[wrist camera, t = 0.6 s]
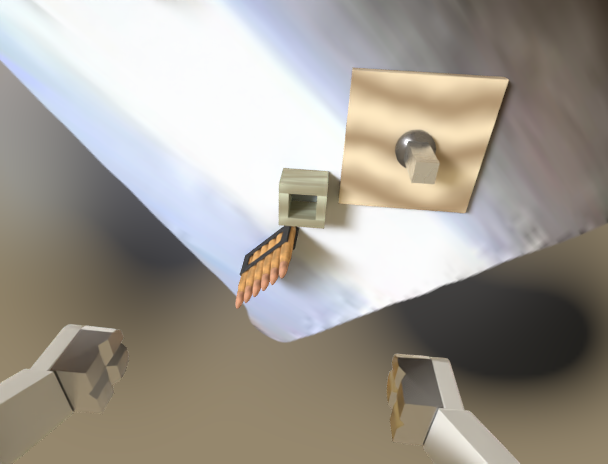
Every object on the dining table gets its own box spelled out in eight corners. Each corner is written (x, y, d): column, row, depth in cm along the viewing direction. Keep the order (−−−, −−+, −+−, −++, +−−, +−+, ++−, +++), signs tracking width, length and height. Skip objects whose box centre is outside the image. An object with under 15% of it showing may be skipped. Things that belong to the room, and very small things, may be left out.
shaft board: (352, 67, 46) (355, 85, 39) (504, 77, 46) (536, 97, 38) (338, 198, 56) (338, 232, 49) (462, 207, 56) (481, 243, 48)
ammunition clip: (291, 220, 59) (281, 270, 49) (299, 228, 60) (291, 279, 50) (245, 255, 64) (227, 307, 54) (253, 262, 64) (237, 315, 54)
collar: (283, 168, 54) (279, 184, 50) (328, 171, 54) (327, 187, 50) (282, 207, 58) (278, 225, 54) (325, 210, 58) (324, 228, 53)
